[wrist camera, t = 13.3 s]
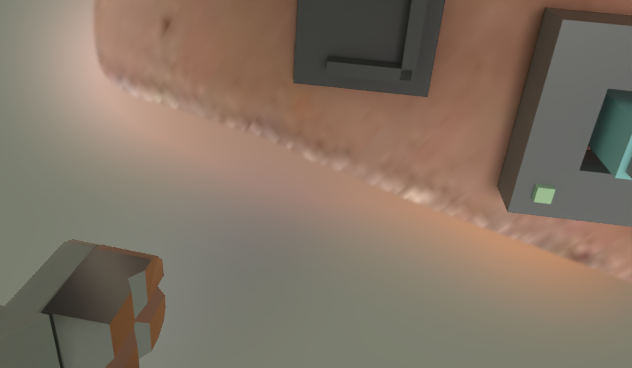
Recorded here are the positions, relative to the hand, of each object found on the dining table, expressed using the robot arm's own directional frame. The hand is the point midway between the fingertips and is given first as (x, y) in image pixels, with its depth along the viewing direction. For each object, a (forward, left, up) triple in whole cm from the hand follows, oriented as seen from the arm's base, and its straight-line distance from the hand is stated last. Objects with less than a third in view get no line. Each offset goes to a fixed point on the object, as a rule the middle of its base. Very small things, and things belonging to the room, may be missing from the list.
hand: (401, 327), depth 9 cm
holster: (+2, 0, -33) cm, 33 cm away
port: (-3, +19, -33) cm, 38 cm away
